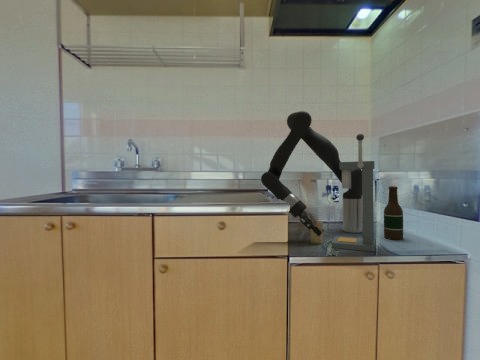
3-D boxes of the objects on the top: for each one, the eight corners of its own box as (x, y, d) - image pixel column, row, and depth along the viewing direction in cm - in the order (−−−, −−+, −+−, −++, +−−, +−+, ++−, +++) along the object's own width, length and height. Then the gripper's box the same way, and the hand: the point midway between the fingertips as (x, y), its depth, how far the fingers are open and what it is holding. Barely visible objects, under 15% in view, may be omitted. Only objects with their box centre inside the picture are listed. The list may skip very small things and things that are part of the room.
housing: (312, 240, 121) (312, 218, 121) (322, 241, 119) (322, 218, 119) (310, 243, 117) (310, 219, 117) (321, 244, 115) (320, 220, 115)
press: (335, 240, 121) (334, 139, 120) (374, 243, 114) (373, 136, 113) (331, 247, 109) (330, 135, 108) (375, 251, 102) (374, 131, 101)
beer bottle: (392, 240, 119) (392, 186, 118) (380, 236, 126) (379, 186, 126) (407, 239, 120) (407, 186, 120) (394, 235, 128) (393, 186, 127)
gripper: (295, 200, 114) (325, 231, 109) (302, 198, 127) (329, 225, 122) (283, 212, 117) (312, 242, 112) (292, 208, 130) (318, 235, 124)
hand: (321, 233), depth 117 cm, fingers closed on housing, 4 cm apart
